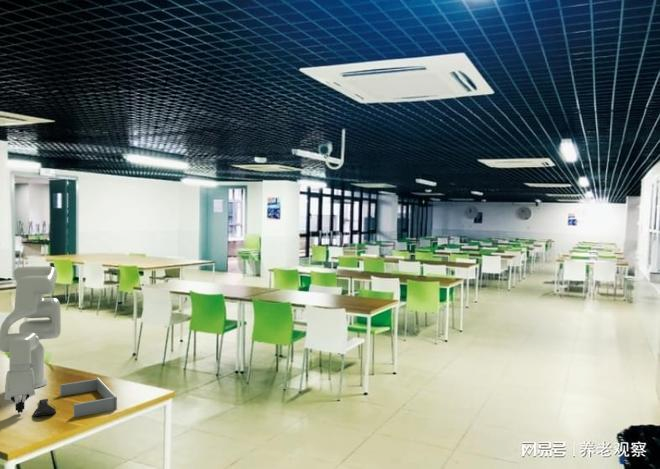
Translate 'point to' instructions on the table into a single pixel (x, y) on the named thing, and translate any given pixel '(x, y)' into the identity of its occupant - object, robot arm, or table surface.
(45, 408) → the hairbrush
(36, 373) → the robot arm
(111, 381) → the table surface
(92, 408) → the box
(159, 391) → the table surface
